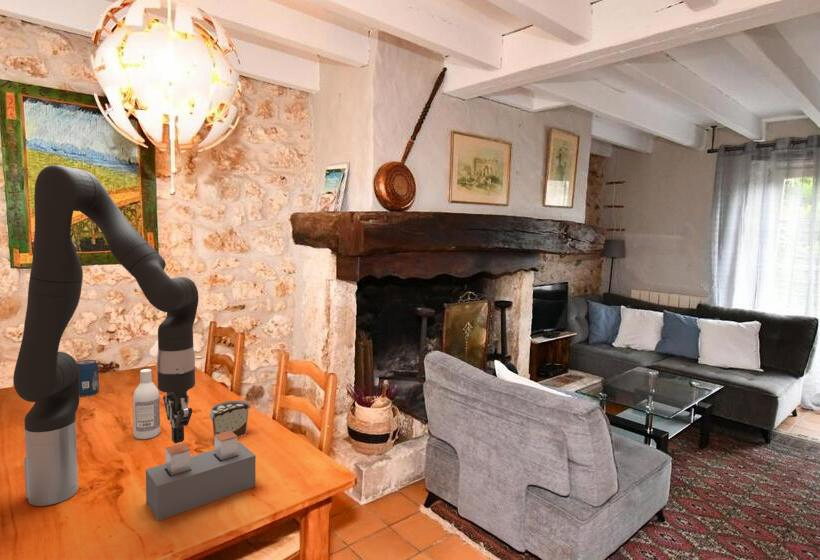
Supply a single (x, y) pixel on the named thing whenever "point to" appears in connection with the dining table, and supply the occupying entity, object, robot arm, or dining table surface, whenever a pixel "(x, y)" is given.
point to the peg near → (177, 459)
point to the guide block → (199, 482)
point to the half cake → (230, 417)
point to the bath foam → (146, 407)
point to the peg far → (225, 445)
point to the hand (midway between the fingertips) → (178, 441)
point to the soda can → (88, 377)
